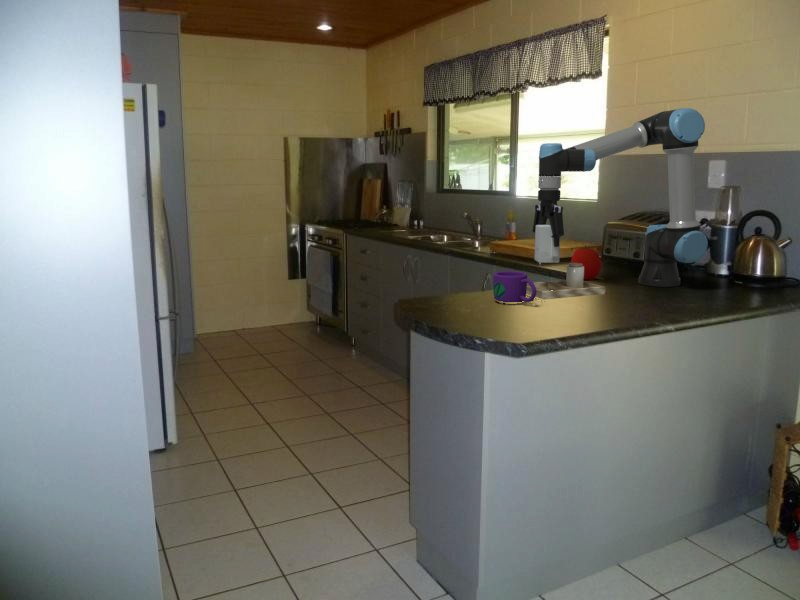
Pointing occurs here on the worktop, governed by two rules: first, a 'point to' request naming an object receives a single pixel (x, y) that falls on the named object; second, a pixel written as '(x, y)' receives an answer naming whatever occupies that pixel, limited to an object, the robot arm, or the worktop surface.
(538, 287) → the rack
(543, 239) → the supplement box
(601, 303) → the worktop surface
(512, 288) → the mug
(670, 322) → the worktop surface
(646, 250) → the robot arm
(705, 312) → the worktop surface
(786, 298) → the worktop surface
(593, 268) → the tomato
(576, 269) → the ceramic jar
